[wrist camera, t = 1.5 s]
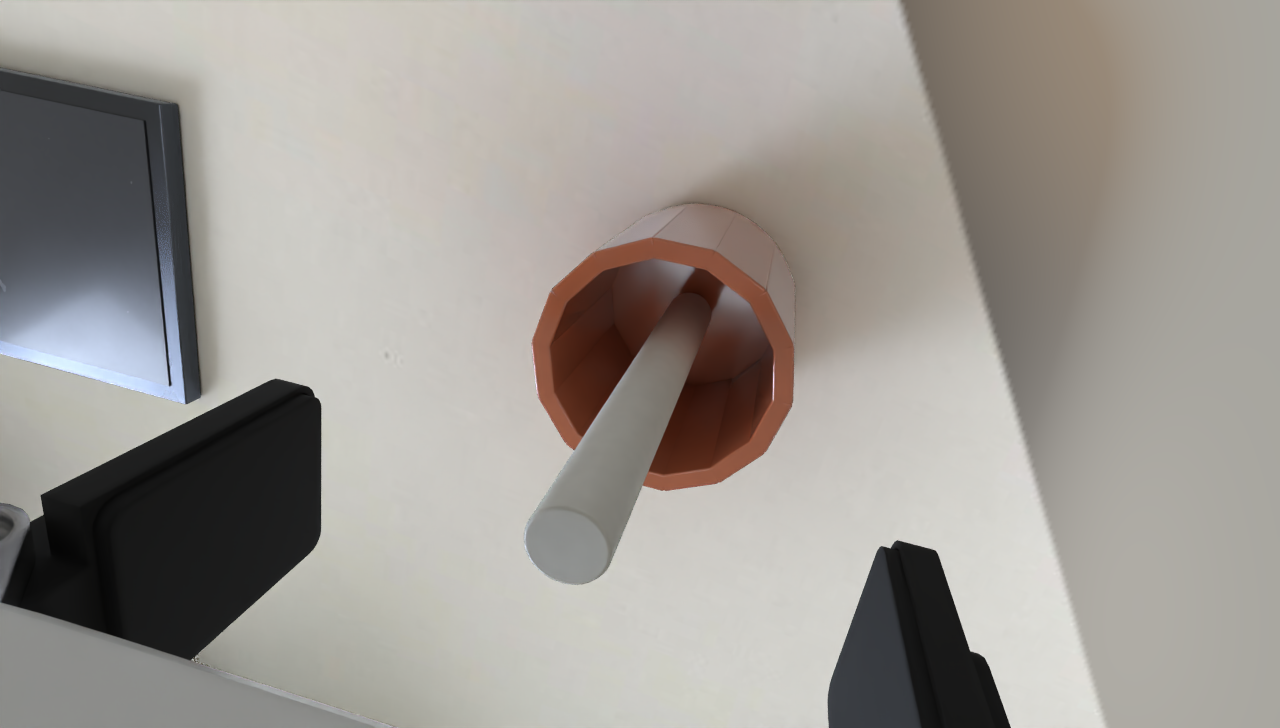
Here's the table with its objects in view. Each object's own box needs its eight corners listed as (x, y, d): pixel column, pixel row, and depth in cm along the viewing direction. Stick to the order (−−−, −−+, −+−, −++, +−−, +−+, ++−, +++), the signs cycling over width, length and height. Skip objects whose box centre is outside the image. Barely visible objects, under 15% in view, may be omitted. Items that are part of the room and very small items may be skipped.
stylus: (677, 280, 23) (527, 496, 10) (718, 289, 23) (617, 521, 10) (670, 320, 24) (517, 572, 11) (710, 329, 23) (604, 596, 11)
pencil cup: (616, 184, 23) (546, 214, 17) (819, 226, 22) (829, 275, 16) (588, 366, 25) (518, 453, 19) (770, 410, 24) (761, 517, 18)
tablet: (-175, 30, 27) (-204, 28, 27) (178, 103, 25) (158, 103, 24) (-104, 315, 32) (-127, 320, 31) (201, 397, 30) (185, 405, 29)
